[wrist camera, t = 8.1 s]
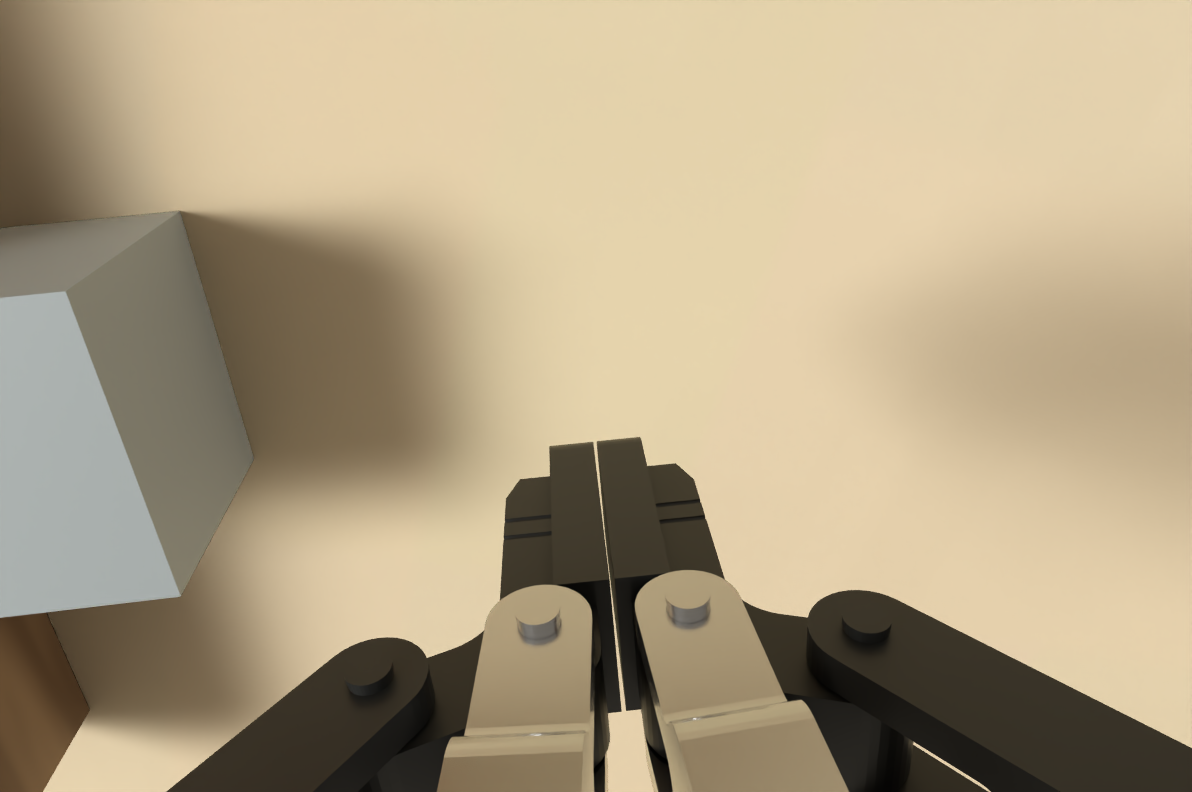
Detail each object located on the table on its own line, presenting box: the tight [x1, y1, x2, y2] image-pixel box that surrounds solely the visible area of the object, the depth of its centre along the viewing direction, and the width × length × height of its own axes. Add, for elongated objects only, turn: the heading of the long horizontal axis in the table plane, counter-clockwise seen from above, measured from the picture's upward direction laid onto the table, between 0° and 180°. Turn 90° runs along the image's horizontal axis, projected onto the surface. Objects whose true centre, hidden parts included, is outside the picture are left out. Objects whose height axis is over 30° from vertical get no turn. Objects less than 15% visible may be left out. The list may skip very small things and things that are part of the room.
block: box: [0, 211, 254, 618], centre depth 19 cm, size 7×7×6 cm
